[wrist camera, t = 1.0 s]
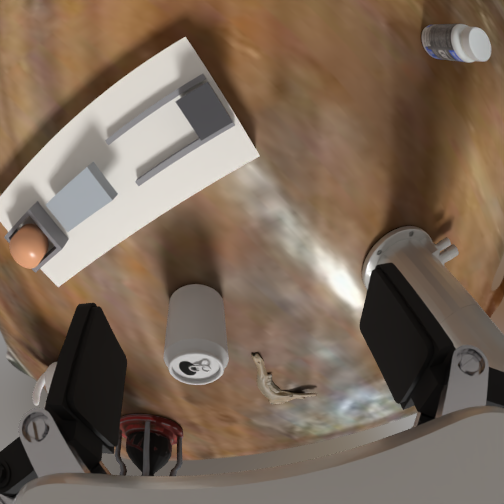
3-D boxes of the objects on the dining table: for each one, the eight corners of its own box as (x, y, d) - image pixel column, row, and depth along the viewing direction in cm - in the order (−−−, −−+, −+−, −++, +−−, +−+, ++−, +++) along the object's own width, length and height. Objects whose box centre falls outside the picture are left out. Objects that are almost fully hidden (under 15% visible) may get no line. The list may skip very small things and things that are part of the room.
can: (161, 286, 40) (151, 357, 30) (215, 274, 40) (219, 344, 30) (180, 324, 44) (177, 393, 34) (229, 314, 44) (236, 383, 34)
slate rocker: (93, 161, 25) (87, 167, 24) (117, 193, 27) (112, 200, 26) (51, 198, 28) (45, 204, 27) (73, 226, 30) (67, 232, 29)
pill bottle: (420, 55, 27) (467, 59, 20) (419, 21, 25) (464, 18, 18) (448, 62, 28) (494, 69, 21) (447, 29, 25) (492, 30, 18)
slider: (208, 81, 25) (207, 81, 22) (230, 116, 27) (232, 122, 24) (179, 98, 25) (175, 101, 22) (202, 132, 28) (201, 140, 24)
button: (31, 216, 28) (21, 226, 25) (55, 245, 30) (47, 256, 28) (13, 236, 28) (3, 247, 26) (35, 262, 31) (27, 274, 29)
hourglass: (181, 443, 68) (185, 529, 47) (121, 436, 64) (116, 522, 44) (184, 417, 60) (188, 522, 39) (112, 408, 56) (102, 512, 35)
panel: (187, 40, 25) (183, 33, 21) (255, 149, 32) (263, 162, 28) (2, 199, 30) (-19, 217, 26) (65, 273, 37) (52, 298, 33)
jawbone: (281, 403, 63) (282, 411, 61) (215, 368, 53) (215, 377, 51) (316, 388, 60) (318, 396, 58) (254, 347, 50) (255, 357, 48)
